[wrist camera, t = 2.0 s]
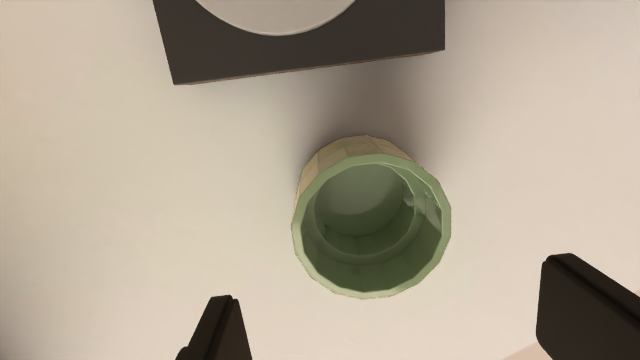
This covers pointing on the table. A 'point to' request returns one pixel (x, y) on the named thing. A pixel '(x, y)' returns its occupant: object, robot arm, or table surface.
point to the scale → (291, 35)
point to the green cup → (368, 219)
